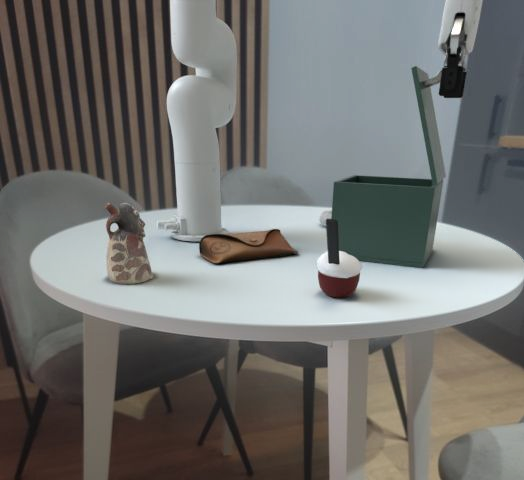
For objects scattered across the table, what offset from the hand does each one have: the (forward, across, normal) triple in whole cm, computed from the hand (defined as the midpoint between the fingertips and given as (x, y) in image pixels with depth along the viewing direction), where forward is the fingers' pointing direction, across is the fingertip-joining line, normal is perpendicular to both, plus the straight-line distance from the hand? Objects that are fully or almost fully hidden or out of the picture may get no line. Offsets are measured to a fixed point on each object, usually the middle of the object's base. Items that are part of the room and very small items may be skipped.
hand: (451, 96), depth 84 cm
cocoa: (+28, +29, -10) cm, 42 cm away
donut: (+28, -24, -24) cm, 44 cm away
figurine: (+28, +35, -43) cm, 62 cm away
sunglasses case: (+28, +13, -31) cm, 44 cm away
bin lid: (+5, 0, -3) cm, 6 cm away
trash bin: (+28, 0, -8) cm, 29 cm away
